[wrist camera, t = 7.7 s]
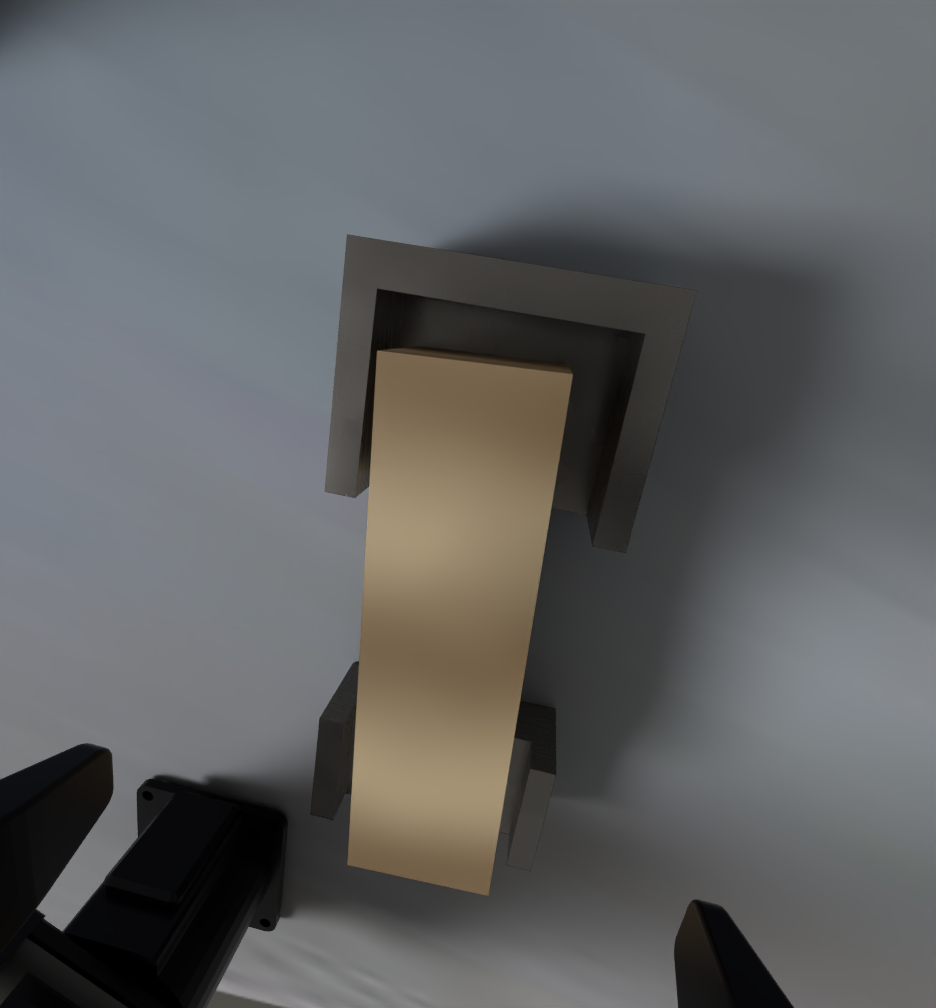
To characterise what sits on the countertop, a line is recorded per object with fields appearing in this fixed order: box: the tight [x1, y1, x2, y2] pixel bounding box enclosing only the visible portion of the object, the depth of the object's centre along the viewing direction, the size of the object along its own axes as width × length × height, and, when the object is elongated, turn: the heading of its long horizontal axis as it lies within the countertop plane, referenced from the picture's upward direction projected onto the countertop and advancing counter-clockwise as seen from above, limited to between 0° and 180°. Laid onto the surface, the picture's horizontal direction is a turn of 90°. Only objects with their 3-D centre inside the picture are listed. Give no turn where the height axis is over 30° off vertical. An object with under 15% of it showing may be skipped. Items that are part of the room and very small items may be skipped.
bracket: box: [325, 234, 696, 553], centre depth 15 cm, size 6×8×4 cm
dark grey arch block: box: [310, 663, 556, 871], centre depth 20 cm, size 4×8×3 cm, turn 81°
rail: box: [347, 346, 573, 896], centre depth 15 cm, size 14×4×4 cm, turn 174°
